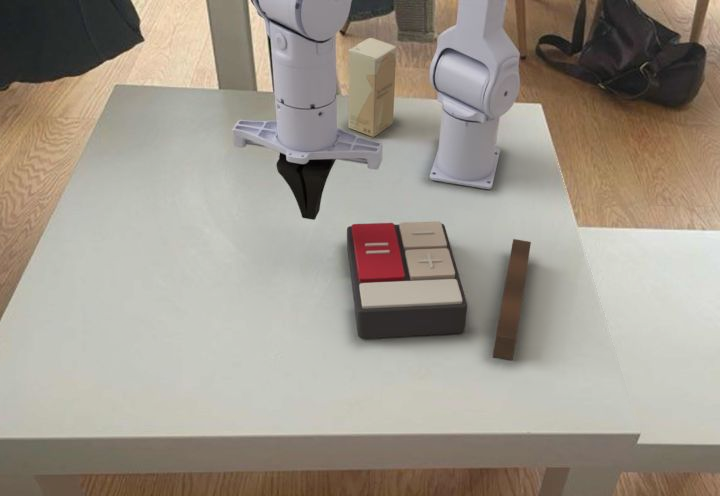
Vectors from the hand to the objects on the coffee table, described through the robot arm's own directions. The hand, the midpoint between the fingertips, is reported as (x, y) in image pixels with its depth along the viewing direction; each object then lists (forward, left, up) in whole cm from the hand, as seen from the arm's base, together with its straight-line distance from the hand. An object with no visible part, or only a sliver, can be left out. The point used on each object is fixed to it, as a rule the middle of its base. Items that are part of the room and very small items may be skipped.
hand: (310, 213), depth 86 cm
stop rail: (+2, +22, -6) cm, 23 cm away
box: (-30, 0, -7) cm, 31 cm away
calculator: (+2, +11, -7) cm, 13 cm away
